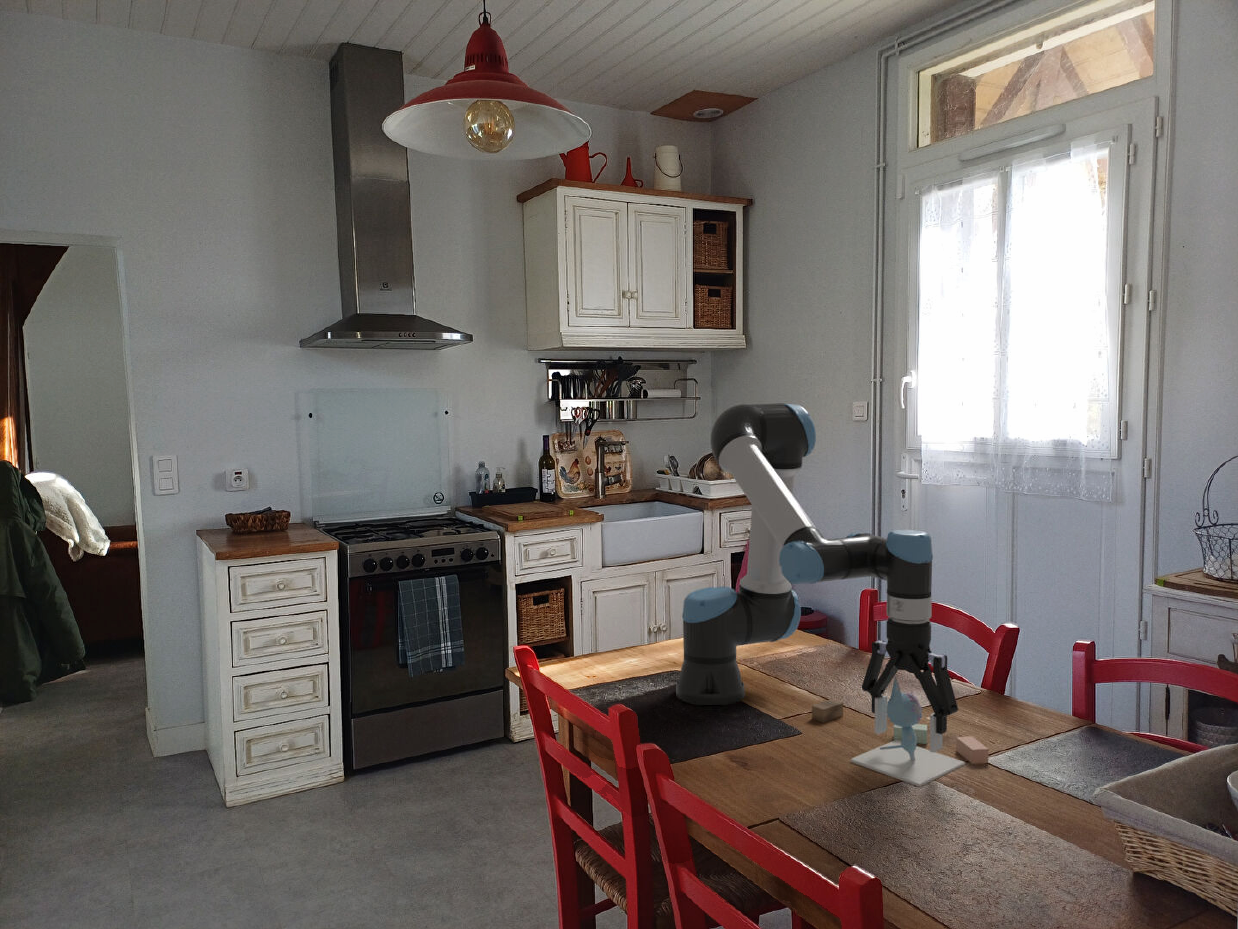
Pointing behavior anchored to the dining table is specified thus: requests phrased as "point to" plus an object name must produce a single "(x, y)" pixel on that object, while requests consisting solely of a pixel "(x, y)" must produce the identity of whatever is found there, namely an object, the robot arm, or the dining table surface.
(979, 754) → the brick
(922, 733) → the brick
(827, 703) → the brick
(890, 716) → the toy
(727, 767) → the dining table surface
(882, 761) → the tile
